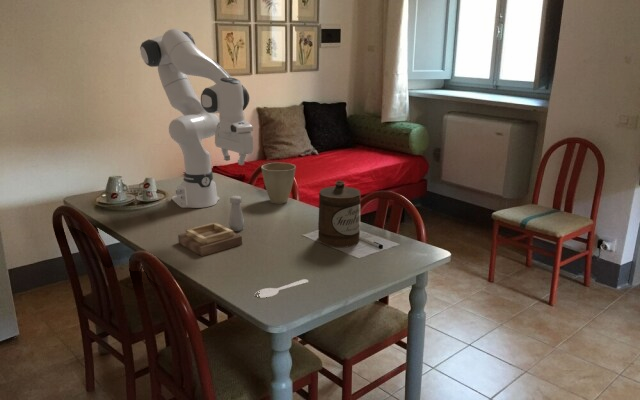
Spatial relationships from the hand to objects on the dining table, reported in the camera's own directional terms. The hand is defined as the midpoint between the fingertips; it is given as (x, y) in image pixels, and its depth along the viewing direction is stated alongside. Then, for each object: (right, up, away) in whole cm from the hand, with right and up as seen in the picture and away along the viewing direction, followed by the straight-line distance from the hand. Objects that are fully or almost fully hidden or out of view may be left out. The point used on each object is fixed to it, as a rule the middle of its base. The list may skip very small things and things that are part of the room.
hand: (234, 162), depth 191 cm
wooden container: (+38, -28, -2) cm, 48 cm away
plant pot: (+13, -14, +42) cm, 47 cm away
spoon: (+20, -40, -39) cm, 59 cm away
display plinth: (-7, -29, -6) cm, 31 cm away
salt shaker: (0, -25, +8) cm, 26 cm away
